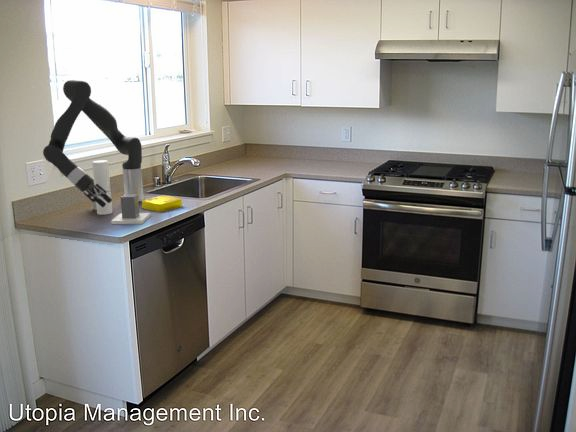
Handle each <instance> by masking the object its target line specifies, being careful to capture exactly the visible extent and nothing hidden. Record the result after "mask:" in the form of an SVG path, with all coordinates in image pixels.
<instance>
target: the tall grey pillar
mask: <svg viewBox="0 0 576 432" xmlns="http://www.w3.org/2000/svg"><path fill="white" fill-rule="evenodd" d="M120 207H121V208H120V209H121V213H122V219H132V218H137V217H138V216H139V213H140V204H139V202H138V194H125V193H124V194H123V195H121V196H120Z"/></svg>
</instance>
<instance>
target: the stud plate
mask: <svg viewBox="0 0 576 432" xmlns="http://www.w3.org/2000/svg"><path fill="white" fill-rule="evenodd" d="M150 217H151V212H139V216H138V217H137V218H132V219H122V212H121V213H119V214H118V215H116V216H115V217H114V218H113V219H112V220H111V221H110V223H111V225H143V224H144V223H145V222H147V220H148V219H149V218H150Z"/></svg>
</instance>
